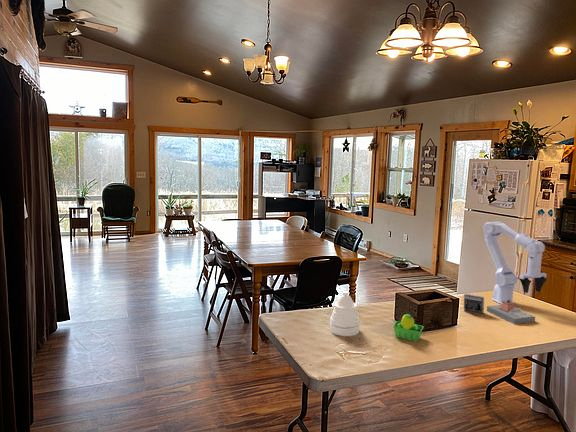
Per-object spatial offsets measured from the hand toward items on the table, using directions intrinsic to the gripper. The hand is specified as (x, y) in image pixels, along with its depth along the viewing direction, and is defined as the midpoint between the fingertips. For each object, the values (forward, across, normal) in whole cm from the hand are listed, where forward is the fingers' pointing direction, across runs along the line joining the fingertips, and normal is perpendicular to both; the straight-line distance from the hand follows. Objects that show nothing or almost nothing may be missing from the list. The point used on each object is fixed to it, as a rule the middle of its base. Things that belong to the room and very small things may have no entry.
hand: (531, 291), depth 220 cm
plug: (+9, -16, -2) cm, 19 cm away
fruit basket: (+10, -79, -15) cm, 81 cm away
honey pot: (+10, -102, -1) cm, 103 cm away
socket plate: (+10, -16, -4) cm, 19 cm away
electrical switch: (+10, -30, +5) cm, 32 cm away
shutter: (+7, -16, -10) cm, 20 cm away
